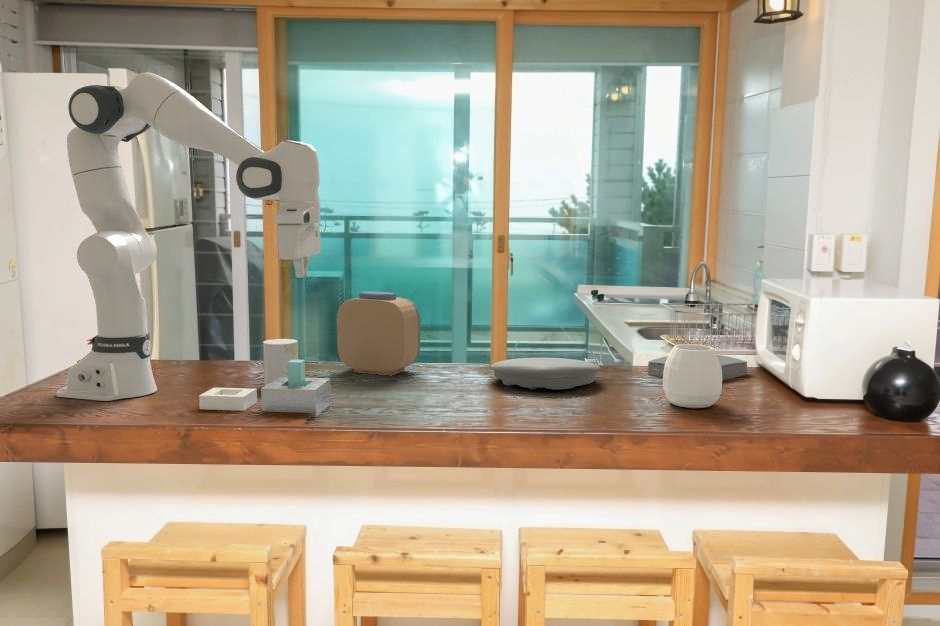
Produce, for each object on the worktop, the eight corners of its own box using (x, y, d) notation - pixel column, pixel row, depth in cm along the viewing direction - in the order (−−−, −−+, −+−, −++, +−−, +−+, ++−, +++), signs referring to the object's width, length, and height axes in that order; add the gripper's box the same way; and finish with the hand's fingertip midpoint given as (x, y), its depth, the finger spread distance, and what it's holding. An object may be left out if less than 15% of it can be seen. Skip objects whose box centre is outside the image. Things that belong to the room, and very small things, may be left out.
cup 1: (290, 394, 207) (289, 344, 205) (259, 392, 208) (257, 343, 207) (303, 387, 214) (302, 339, 213) (273, 385, 216) (271, 338, 215)
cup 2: (650, 401, 201) (652, 344, 199) (696, 396, 206) (698, 341, 205) (685, 414, 189) (688, 354, 187) (733, 408, 194) (736, 350, 192)
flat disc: (623, 386, 217) (623, 369, 217) (536, 400, 202) (536, 381, 201) (552, 370, 240) (552, 354, 240) (469, 381, 225) (469, 364, 224)
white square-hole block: (199, 413, 188) (199, 395, 187) (214, 404, 196) (213, 387, 195) (244, 414, 187) (243, 396, 186) (257, 406, 195) (256, 388, 194)
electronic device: (641, 374, 234) (641, 356, 233) (689, 365, 247) (690, 348, 247) (700, 387, 219) (701, 367, 218) (748, 376, 233) (749, 357, 232)
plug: (288, 406, 190) (287, 362, 189) (292, 403, 193) (291, 359, 192) (301, 407, 190) (300, 362, 188) (305, 403, 193) (305, 359, 191)
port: (261, 415, 186) (261, 388, 185) (280, 402, 198) (279, 376, 197) (315, 417, 185) (315, 389, 184) (331, 404, 197) (330, 378, 196)
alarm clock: (421, 371, 234) (421, 292, 231) (404, 378, 225) (404, 296, 223) (356, 365, 242) (355, 289, 240) (337, 371, 234) (336, 292, 231)
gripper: (300, 214, 201) (301, 273, 203) (271, 215, 181) (272, 281, 183) (326, 214, 201) (327, 273, 202) (300, 216, 180) (301, 281, 182)
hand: (301, 277), depth 193 cm, fingers closed
